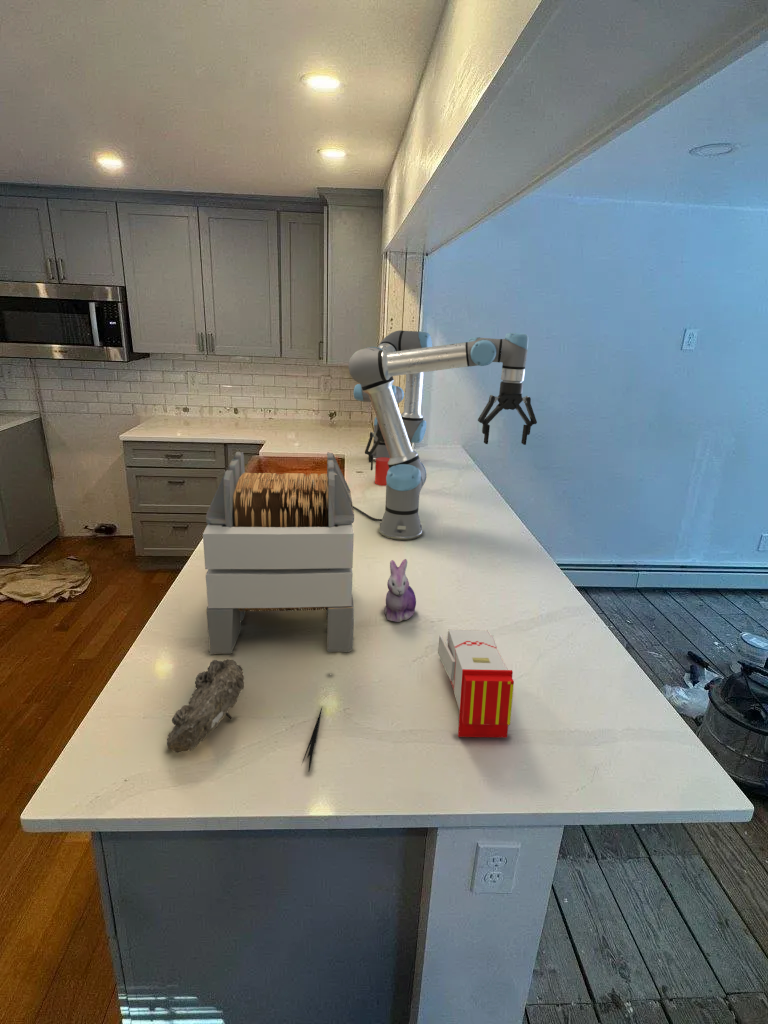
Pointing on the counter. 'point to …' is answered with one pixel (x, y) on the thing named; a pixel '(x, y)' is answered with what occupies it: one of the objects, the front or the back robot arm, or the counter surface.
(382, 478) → the tin
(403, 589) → the figurine
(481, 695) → the toy
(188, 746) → the fossil
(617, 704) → the counter surface
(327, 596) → the record crate stand
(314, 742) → the feather
